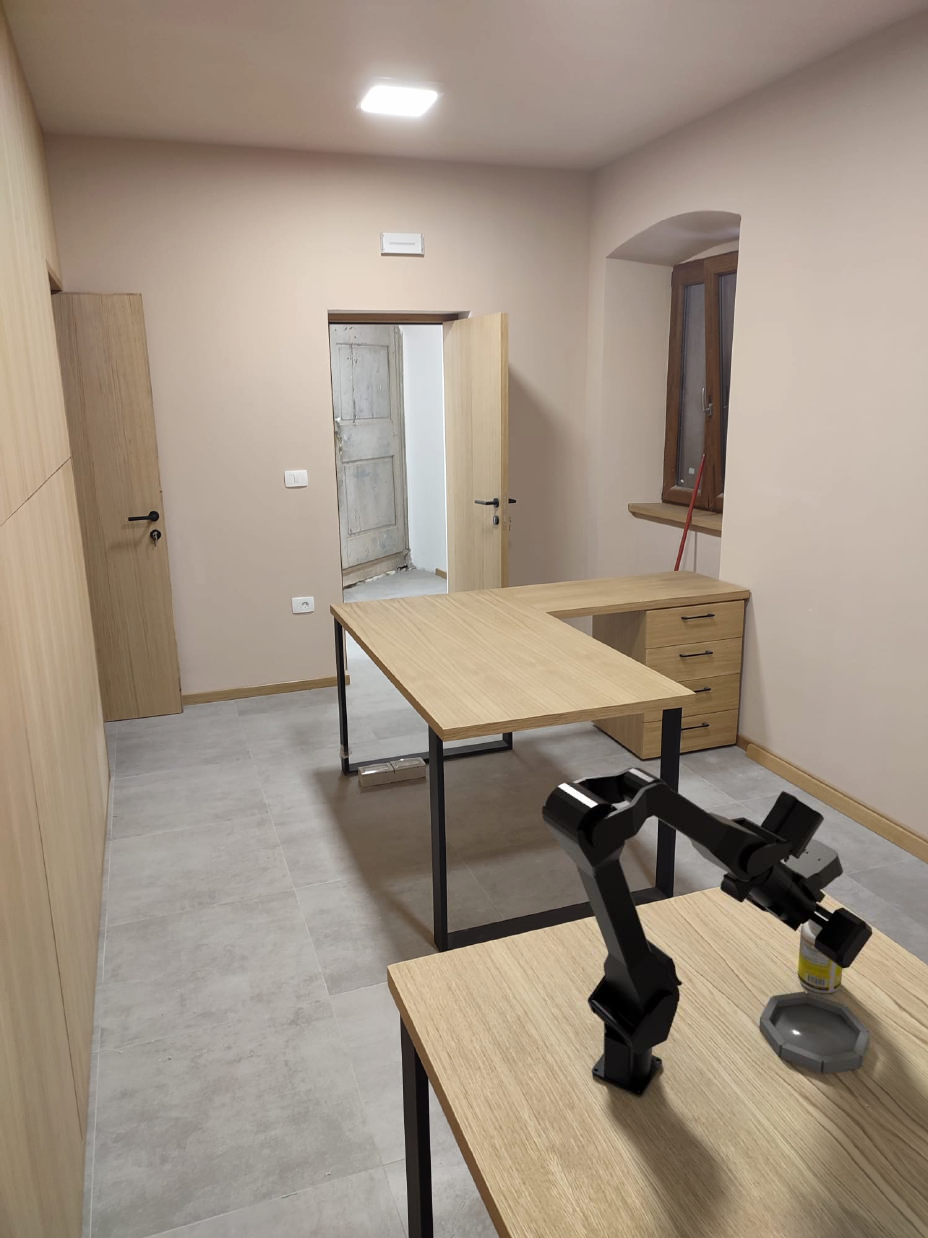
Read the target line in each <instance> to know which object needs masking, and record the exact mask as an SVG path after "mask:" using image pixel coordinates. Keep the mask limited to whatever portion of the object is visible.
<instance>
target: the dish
mask: <svg viewBox="0 0 928 1238" xmlns="http://www.w3.org/2000/svg"><path fill="white" fill-rule="evenodd" d="M758 1028H759V1031H760V1032H761V1034H762V1035H763V1038H765V1039H766V1041H767V1042H768V1043H769V1045H770V1047H771V1048H772V1050H774V1052H775V1054H776V1055H777V1057H780V1059H783V1060H785V1061H787V1062H790V1063H793V1064H795V1065H797V1066H800V1067H802V1068H804V1069H807V1070H810V1071H812V1072H815V1073H818V1074H820V1075H821V1073H822V1074H823V1075H827V1074H833V1073H839V1072H845V1071H853V1070H858V1069H860V1068H862V1064H863V1061H864V1059H865V1056H866V1053H867V1050H868V1047H869V1045H870V1043H869V1042H870V1036H871V1035H870V1030H869V1029H868V1028H867V1026H865V1025H864V1023H862V1021H861V1020H860V1019H859V1018H858V1017H857V1015H856V1014H855V1013H854V1012H853V1011H852V1010H851V1009H850V1007H848V1006H847V1005H845V1003H841V1002H839V1001H836V1000H833V999H830V998H827V997H825V996H822V995H819V994H815V993H814V992H810V991H807V992H806V991H804V990H803V991H797V992H789V993H783V994H777V995H772V996H770V998H769V1000H768V1001H767V1004H766V1005H765V1008H764V1009H763V1011H762V1013H761V1015H760V1017H759V1027H758Z"/></svg>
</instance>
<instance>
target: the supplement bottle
mask: <svg viewBox="0 0 928 1238" xmlns="http://www.w3.org/2000/svg"><path fill="white" fill-rule="evenodd" d="M825 909H826V908H825ZM826 910H828V911H829V912H831V913H832V914H833V913H834V911H833V910H830V909H826ZM815 913H816V912H815ZM816 914H817V915H819V914H818V913H816ZM819 916H820V917H822V918H823V919H825V920H826V921H828V920H827V919H826V918H824V917H823V916H821V915H819ZM821 929H822V928H821V927H819V926H818V925H817V924H815V923H814V922H812V921H811V920H809V921H807V922H806V923H804V924H801V927H800V937H799V939H800V940H799V950H798V962H797V963H798V964H797V978H798V980H799V982H800V983H801V985H803V986H804V987H805V988H807V989H808V990H810V991H812V992H815V993H819V994H832V993H835V992H837V991H838V990H839V989H840V988H841V985H842V980H843V979H842V977H843V969H842V968H841V967H840V966H838V965H837V964H835V963H834V962H833V961H831V960H830V959H828V958H827V957H826V956H824V955H823V954H822V953H820V952H819V951H818V950H817V949H816V948H814V946H815V938H816V936H817V935H818V934H819V932H820V931H821Z"/></svg>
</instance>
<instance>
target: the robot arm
mask: <svg viewBox="0 0 928 1238" xmlns="http://www.w3.org/2000/svg"><path fill="white" fill-rule="evenodd" d="M625 802H627V803H628V805H625V806H623V807H621V808H617V807H616V806H615V805H616V804H618V805H619V804H621V803H625ZM541 814H542V820H543V822H544V824H545V825H546V828H548V830H549V832H550V834H551V836H553V838H554V840H555V841H556V842H557V843H558V844H559V846H560V847H561V848H562V849H563V850H564V852H565V853H566V854H567V855H568V857H569V858H570V859H571V860H572V862H573V863H574V864H575V866H576V868H577V869H576V870H577V872H578V874H579V877H580V880H581V883H582V885H583V887H584V890H585V893H586V896H587V898H588V899H587V900H589V901H588V902H589V905H590V906H591V909H592V911H593V914H594V918H595V920H596V923H597V925H598V928H599V930H600V934H601V936H602V939H603V942H604V943H605V947H606V949H607V956H606V958H605V960H604V962H603V972H604V974H603V976H602V978H601V979H600V981H599V982H598V984H597V985H596V987H595V988H594V989H593V991H592V992H591V994H590V995H589V997H588V998H587V1003H588V1006H589V1008H590V1011H591V1012H592V1013H593V1014H595V1015H596V1016H597V1017H598V1018H599V1019H600V1020H602V1022H603V1053H602V1055H601V1056H600V1057H599V1058H598V1060H597V1061H596V1062H595V1064H594V1065H593V1067H592V1068H591V1075H593V1076H594V1077H595V1078H598V1079H600V1080H602V1081H605V1082H607V1083H609V1084H612V1085H613V1086H616V1087H618V1088H620V1089H622V1090H624V1091H626V1092H628V1093H631V1094H633V1095H634V1096H637V1097H642V1096H644V1093H646V1091H647V1089H648V1087H649V1086H650V1085H651V1083H652V1081H653V1080H654V1078H655V1076H657V1075H656V1074H657V1073H658V1071H659V1070H660V1069H661V1067H662V1066H663V1060H662V1058H660V1057H658V1056H656V1055H654V1054H653V1047H656V1046H658V1045H659V1044H662V1043H665V1042H666V1041H667V1040H668V1038H669V1035H670V1033H671V1032H670V1031H671V1030H672V1029H671V1028H672V1026H673V1023H674V1019H675V1018H676V1017H675V1016H676V1013H677V1009H678V1007H679V1003H680V997H681V994H680V988H679V986H682V985H683V982H682V981H681V980H680V979H679V976H678V975H677V971H676V964H675V962H674V960H673V958H672V957H671V956H669V955H668V954H667V953H666V952H664V951H663V950H662V949H661V948H660V947H658V946H657V945H656V944H655V943H653V942H651V941H650V939H648V938H647V936H646V934H645V930H644V928H643V924H642V922H641V918H640V916H639V913H638V910H637V907H636V904H635V901H634V898H633V896H632V892H631V890H630V887H629V883H628V880H627V878H626V875H625V872H624V870H623V869H624V868H623V867H622V863H621V858H620V857H621V854H622V853H623V850H624V848H625V846H626V845H625V844H626V840H628V839H631V838H633V837H635V836H637V834H639V832H640V829H642V827H643V825H644V824H645V822H646V821H647V819H650V818H651V817H655V818H657V819H658V820H660V821H662V822H663V823H664V824H667V825H668V826H669V827H671V828H673V829H674V830H676V831H677V832H679V833H680V834H682V835H684V836H685V837H686V838H687V840H689V842H691V846H692V847H693V848H694V849H695V850H696V851H697V852H698V854H700V856H701V857H702V858H704V860H707V861H708V862H709V863H712V864H713V865H715V866H716V867H718V868H720V869H721V870H723V871H725V872H727V873H724V874H723V877H722V878H723V879H722V881H721V882H720V890H721V892H723V893H725V894H726V895H727V896H730V897H731V898H733V899H734V900H735V901H737V902H738V903H744V901H745V900H746V901H747V902H749V903H750V904H751V905H753V906H754V907H756V908H758V909H759V910H760V911H762V912H766V913H769V914H771V915H772V916H773V917H774V918H776V919H777V920H779V921H780V922H782V923H783V924H784V925H786V926H787V927H788V928H790V929H791V930H792V931H794V932H796V931H797V930H798V929H799V927H800V926H802V925H803V924H804V923H806V922H807V921H809V920H811V921H812V922H814V923H815V924H817V925H818V926H819V927H821V928H822V929H821V931H820V932H819V934H818V935H817V936H816V938H815V946H814V948H816V949H817V950H818V951H819V952H820V953H822V954H823V955H824V956H826V957H827V958H828V959H830V960H831V961H833V962H834V963H835V964H837V965H838V966H840V967H841V968H842V970H843V969H848V968H850V967H851V965H852V964H853V963H854V961H855V960H856V959H857V957H858V955H859V954H860V952H861V951H862V949H863V948H864V947H865V945H866V944H867V943H868V942H869V940H870V938H871V937H872V935H873V928H872V926H871V925H869V924H868V923H867V922H866V921H865V920H864V919H862V918H861V917H859V916H857V915H856V914H855V913H852V912H851V911H850V910H848V909H846V908H845V907H844V906H843V907H841V908H837V909H835V910H834V911H833V912H834V913H833V914H832V913H831V912H829V911H828V910H829V909H827V910H826V908H824V907H823V906H822V905H820V904H821V903H822V901H824V898H825V897H826V894H825V893H824V892H823V891H822V889H823V890H824V889H825V888H826V887H828V885H830V884H831V883H832V882H833V881H834V880H836V879H837V878H840V876H842V875H843V873H844V868H843V866H842V863H841V859H840V856H839V854H838V852H837V851H836V849H833V848H831V847H829V846H828V845H827V844H825V843H823V842H821V841H819V840H817V839H813V837H814V836H815V834H816V833H817V831H818V829H819V828H820V827H821V825H822V823H824V820H825V817H824V816H823V815H822V813H820V812H819V811H818V810H816V809H813V808H812V807H810V806H808V805H807V804H806V803H805V802H803V801H801V800H799V799H798V798H797V797H796V796H795V795H793V794H791V793H789V792H786V791H784V790H782V791H781V792H780V794H779V795H778V797H777V799H776V800H775V802H774V804H773V806H772V808H771V809H770V810H769V812H768V814H767V815H766V817H765V818H764V820H763V821H762V823H761V824H760V825H759V824H757V823H755V822H754V821H752V820H750V819H748V818H746V817H744V816H742V817H737V818H736V817H735V818H731V819H729V818H727V817H725V816H722V815H719V814H716V813H714V812H708V811H706V810H705V809H703V808H701V807H700V806H698V805H697V804H695V803H694V802H693V801H691V800H689V799H688V798H686V797H685V796H683V795H682V794H680V793H679V792H678V791H676V790H674V789H672V788H671V787H670V786H668V784H667V782H666V781H665V780H664V779H661V778H660V777H658V776H656V775H655V774H652V773H650V772H649V771H647V770H645V769H643V768H641V767H629V768H625V769H624V770H621V771H619V772H615V773H608V774H600V775H590V776H585V777H581V778H580V779H577V780H574V781H569V782H564V783H562V784H560V785H558V786H556V787H555V789H553V790H552V791H551V792H550V794H549V795H548V797H547V798H546V801H545V804H544V805H543V806H542V808H541ZM782 861H783V862H782ZM818 903H819V904H818ZM815 912H816V913H818V914H819V915H821V916H823V917H824V918H826V919H827V920H828V921H826V920H825V919H823V918H822V917H820V916H819V915H817V914H816V913H815Z"/></svg>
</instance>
